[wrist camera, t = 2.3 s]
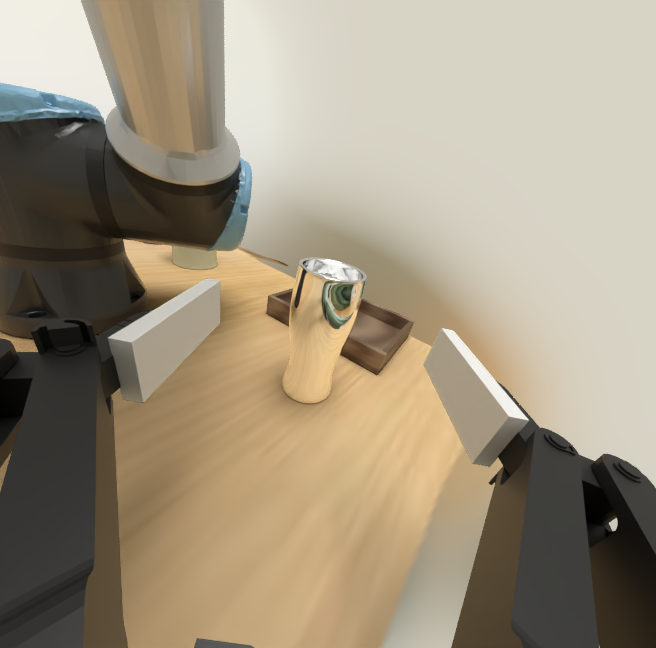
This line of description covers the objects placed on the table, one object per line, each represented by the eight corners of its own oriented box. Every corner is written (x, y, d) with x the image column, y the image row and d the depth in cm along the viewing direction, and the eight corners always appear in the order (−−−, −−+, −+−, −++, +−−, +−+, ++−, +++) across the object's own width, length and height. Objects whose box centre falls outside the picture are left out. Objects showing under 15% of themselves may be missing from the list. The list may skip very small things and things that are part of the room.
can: (225, 263, 61) (225, 212, 56) (201, 273, 53) (199, 213, 47) (191, 254, 62) (188, 202, 56) (162, 262, 54) (155, 202, 48)
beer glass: (312, 361, 35) (336, 256, 28) (345, 393, 30) (383, 280, 23) (267, 376, 30) (282, 256, 23) (298, 416, 26) (328, 284, 19)
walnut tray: (266, 313, 44) (268, 295, 42) (317, 294, 56) (320, 280, 55) (377, 375, 35) (385, 355, 33) (407, 336, 48) (414, 321, 46)
